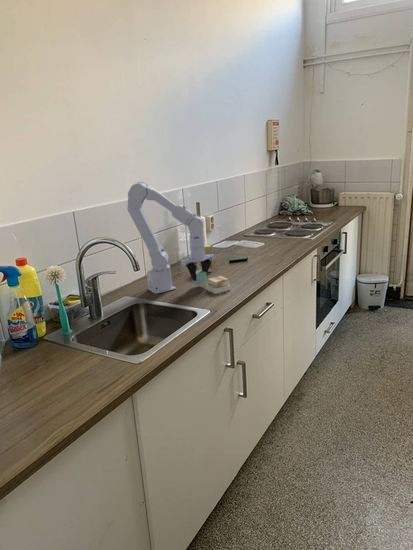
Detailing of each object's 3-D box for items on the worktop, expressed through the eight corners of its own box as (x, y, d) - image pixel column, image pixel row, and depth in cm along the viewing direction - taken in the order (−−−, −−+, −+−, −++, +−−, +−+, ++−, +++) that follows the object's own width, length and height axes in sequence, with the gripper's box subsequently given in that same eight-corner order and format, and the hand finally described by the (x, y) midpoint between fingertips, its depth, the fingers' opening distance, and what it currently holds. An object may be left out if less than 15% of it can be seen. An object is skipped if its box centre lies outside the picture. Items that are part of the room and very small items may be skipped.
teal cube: (197, 284, 169) (196, 274, 167) (192, 282, 172) (191, 272, 171) (206, 282, 171) (206, 272, 169) (201, 280, 174) (200, 269, 173)
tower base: (215, 295, 163) (215, 289, 162) (206, 290, 169) (206, 284, 168) (230, 291, 166) (230, 285, 165) (221, 286, 172) (220, 281, 171)
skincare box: (199, 273, 190) (197, 247, 187) (197, 271, 194) (195, 245, 191) (213, 271, 192) (211, 245, 188) (210, 269, 196) (209, 244, 192)
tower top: (215, 288, 163) (215, 282, 162) (208, 284, 168) (207, 278, 167) (228, 284, 166) (228, 278, 165) (220, 281, 171) (220, 275, 170)
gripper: (186, 251, 160) (188, 285, 164) (217, 245, 167) (219, 277, 171) (177, 248, 166) (180, 280, 170) (208, 242, 173) (210, 273, 177)
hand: (199, 279), depth 171 cm, fingers closed on teal cube, 4 cm apart
